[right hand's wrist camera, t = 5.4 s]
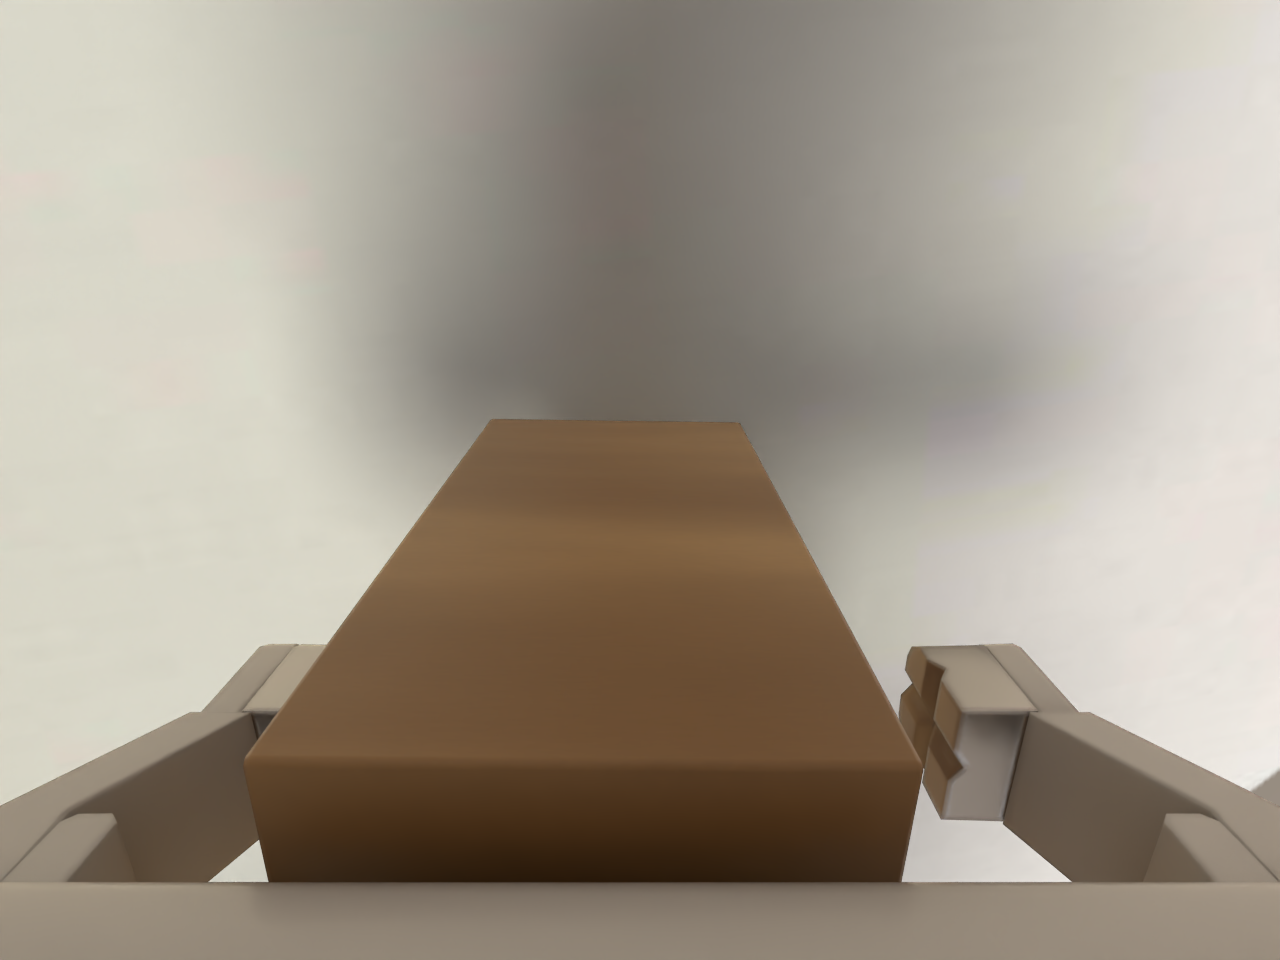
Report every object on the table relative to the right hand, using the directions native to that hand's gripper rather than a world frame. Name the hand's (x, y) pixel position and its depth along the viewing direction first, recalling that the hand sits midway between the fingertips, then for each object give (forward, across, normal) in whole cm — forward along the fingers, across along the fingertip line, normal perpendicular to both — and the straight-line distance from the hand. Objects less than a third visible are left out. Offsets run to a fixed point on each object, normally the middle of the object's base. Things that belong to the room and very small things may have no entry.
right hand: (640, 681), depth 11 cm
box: (+6, +1, +8) cm, 10 cm away
